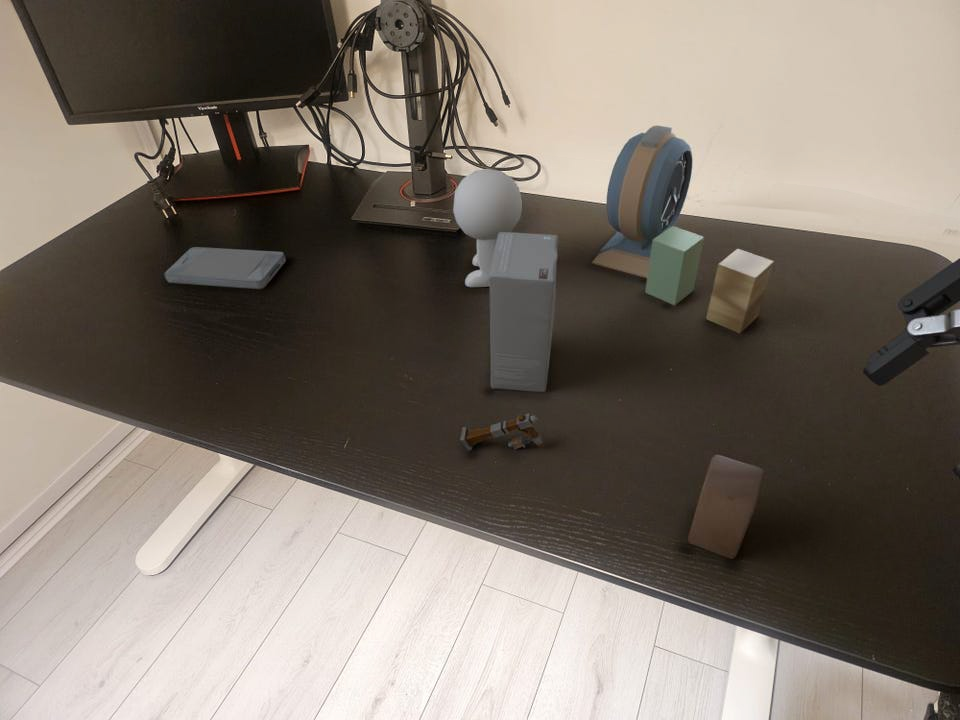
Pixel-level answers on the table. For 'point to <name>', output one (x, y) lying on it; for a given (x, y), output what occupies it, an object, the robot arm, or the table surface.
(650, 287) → the line block
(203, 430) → the table surface
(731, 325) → the line block
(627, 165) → the alarm clock
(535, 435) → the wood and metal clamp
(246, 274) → the phone
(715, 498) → the wooden block
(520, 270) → the cosmetic box
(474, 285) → the toy character
